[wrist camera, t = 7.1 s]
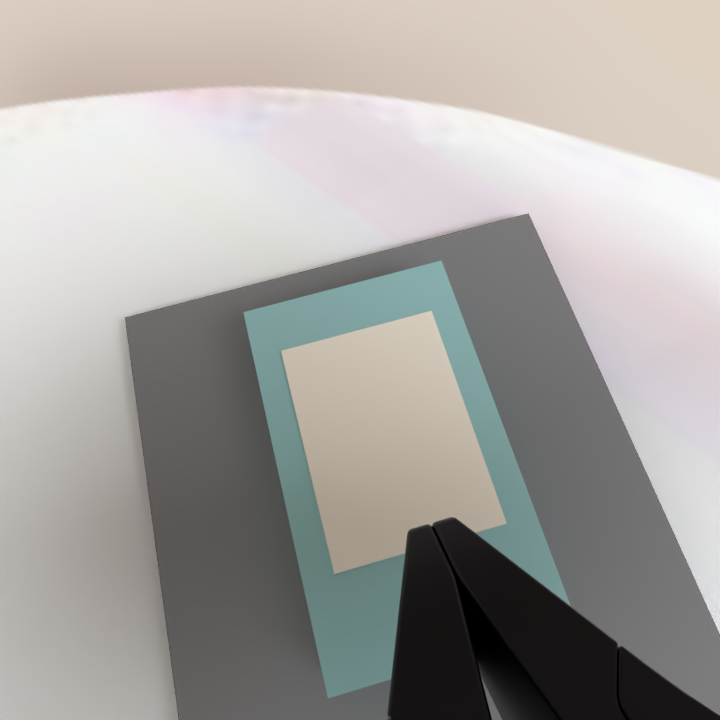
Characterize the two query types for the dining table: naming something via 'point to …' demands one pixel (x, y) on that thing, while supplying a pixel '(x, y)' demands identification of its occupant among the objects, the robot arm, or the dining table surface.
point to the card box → (383, 453)
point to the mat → (269, 514)
